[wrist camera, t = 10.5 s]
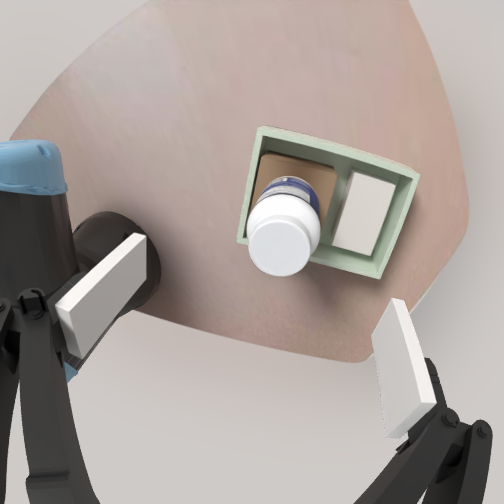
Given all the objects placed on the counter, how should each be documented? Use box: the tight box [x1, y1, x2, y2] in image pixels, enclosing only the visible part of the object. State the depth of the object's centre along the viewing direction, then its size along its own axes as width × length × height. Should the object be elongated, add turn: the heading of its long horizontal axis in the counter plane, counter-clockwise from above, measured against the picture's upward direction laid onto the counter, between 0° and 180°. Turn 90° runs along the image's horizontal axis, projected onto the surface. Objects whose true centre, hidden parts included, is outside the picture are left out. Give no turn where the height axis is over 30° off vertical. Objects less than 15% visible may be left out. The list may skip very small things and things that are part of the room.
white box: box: [331, 167, 396, 256], centre depth 30 cm, size 4×8×3 cm, turn 169°
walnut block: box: [249, 150, 337, 234], centre depth 30 cm, size 7×7×5 cm
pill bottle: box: [247, 176, 321, 277], centre depth 23 cm, size 5×5×10 cm
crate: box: [236, 125, 420, 279], centre depth 30 cm, size 16×12×4 cm
